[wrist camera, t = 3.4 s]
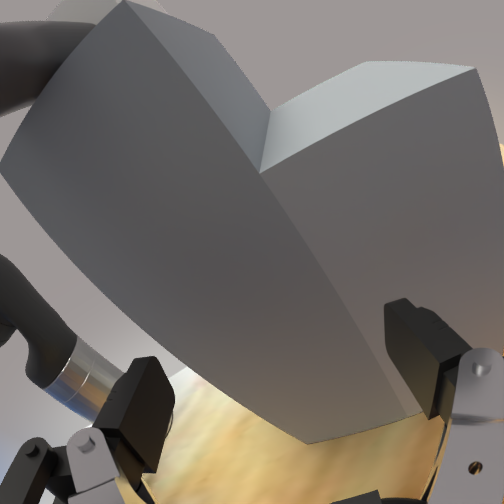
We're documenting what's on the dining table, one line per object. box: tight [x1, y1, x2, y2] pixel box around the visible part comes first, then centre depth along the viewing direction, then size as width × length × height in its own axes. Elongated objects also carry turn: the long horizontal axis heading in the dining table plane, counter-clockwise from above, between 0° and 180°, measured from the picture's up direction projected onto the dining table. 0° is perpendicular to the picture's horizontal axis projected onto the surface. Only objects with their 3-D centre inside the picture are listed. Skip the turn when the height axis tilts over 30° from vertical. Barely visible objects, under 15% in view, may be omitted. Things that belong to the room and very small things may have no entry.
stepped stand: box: [0, 0, 504, 444], centre depth 20 cm, size 19×15×32 cm
